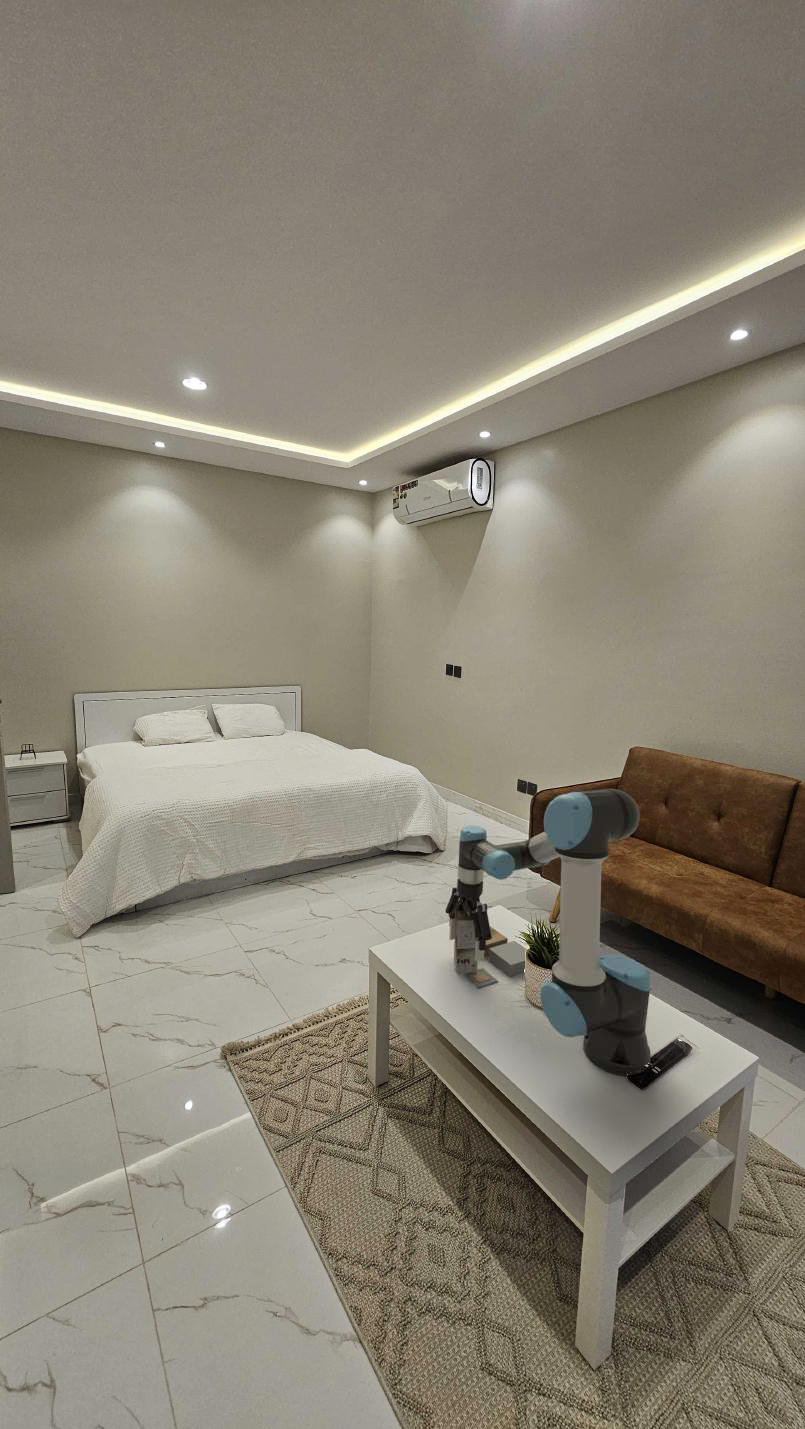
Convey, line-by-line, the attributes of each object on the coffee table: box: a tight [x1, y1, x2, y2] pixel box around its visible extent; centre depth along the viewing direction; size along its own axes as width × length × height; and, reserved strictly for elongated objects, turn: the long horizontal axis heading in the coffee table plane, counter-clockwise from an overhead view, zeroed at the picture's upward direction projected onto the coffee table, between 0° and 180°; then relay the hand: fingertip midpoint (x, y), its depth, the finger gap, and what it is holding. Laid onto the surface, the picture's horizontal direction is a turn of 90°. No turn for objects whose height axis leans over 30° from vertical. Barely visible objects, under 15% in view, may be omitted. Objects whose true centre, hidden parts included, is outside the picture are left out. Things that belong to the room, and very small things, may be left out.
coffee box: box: [453, 908, 478, 974], centre depth 178 cm, size 9×6×16 cm
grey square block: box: [487, 940, 527, 979], centre depth 180 cm, size 10×10×4 cm
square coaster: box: [463, 968, 499, 989], centre depth 173 cm, size 7×7×1 cm
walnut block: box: [481, 926, 509, 958], centre depth 190 cm, size 10×10×4 cm
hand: (466, 948), depth 178 cm, fingers open, 12 cm apart
